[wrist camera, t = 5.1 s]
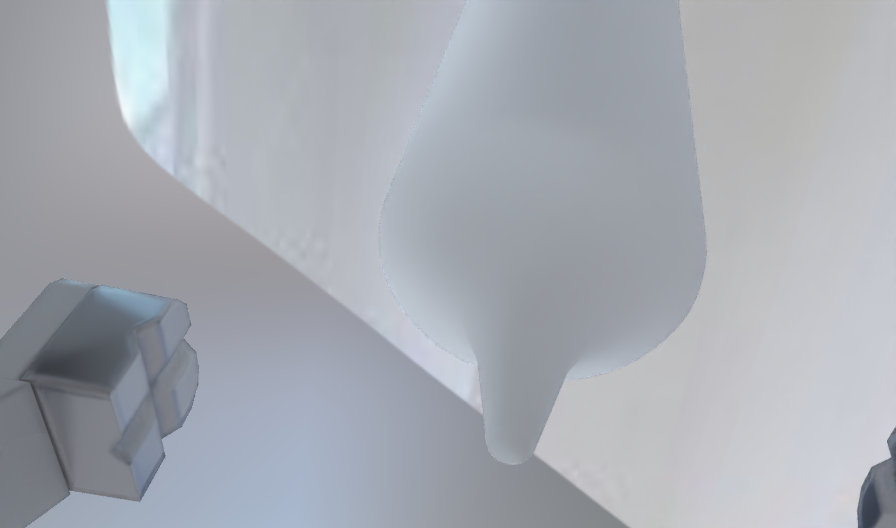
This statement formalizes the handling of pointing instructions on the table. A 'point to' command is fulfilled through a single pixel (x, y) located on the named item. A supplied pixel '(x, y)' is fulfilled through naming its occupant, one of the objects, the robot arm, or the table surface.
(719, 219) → the table surface
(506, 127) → the candle
